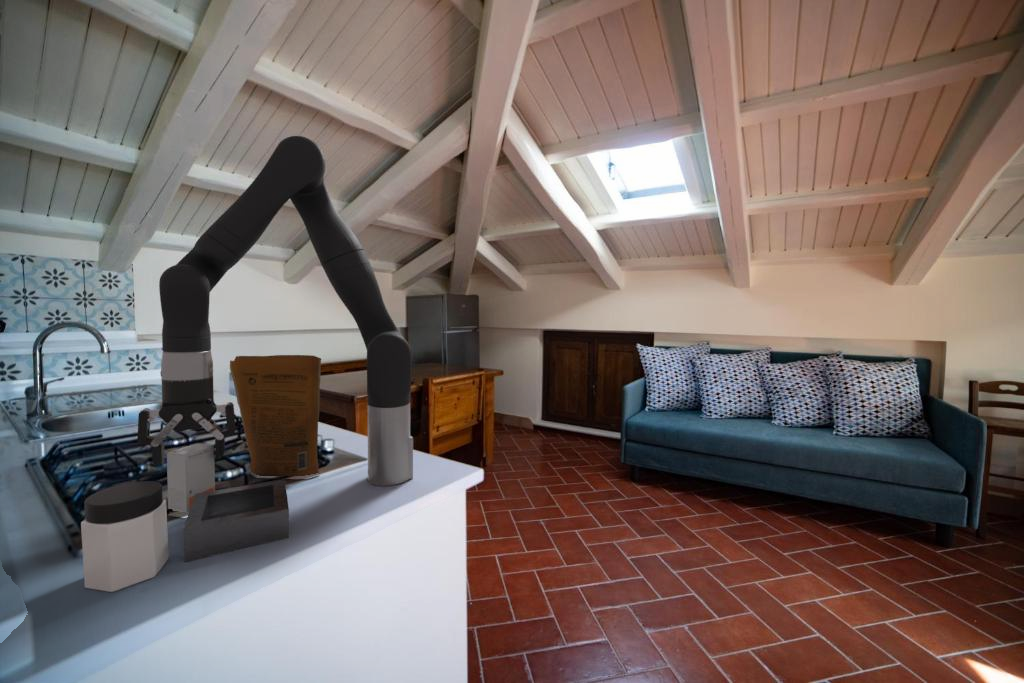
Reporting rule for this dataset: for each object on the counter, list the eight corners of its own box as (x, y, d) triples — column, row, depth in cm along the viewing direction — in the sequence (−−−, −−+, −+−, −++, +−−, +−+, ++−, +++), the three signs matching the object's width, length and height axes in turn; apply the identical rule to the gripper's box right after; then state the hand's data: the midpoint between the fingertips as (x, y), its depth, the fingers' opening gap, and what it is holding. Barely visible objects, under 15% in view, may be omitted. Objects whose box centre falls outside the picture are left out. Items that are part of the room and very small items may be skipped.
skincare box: (187, 519, 75) (184, 454, 74) (167, 517, 76) (164, 452, 75) (217, 504, 81) (215, 444, 80) (198, 502, 82) (196, 442, 81)
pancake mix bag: (315, 484, 91) (313, 356, 89) (230, 481, 92) (226, 354, 90) (330, 472, 98) (328, 353, 96) (251, 469, 99) (247, 351, 97)
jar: (162, 549, 66) (159, 475, 65) (175, 570, 61) (171, 490, 60) (81, 575, 59) (76, 493, 59) (88, 602, 54) (82, 513, 53)
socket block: (285, 503, 82) (284, 478, 82) (289, 537, 70) (288, 508, 70) (196, 520, 75) (195, 493, 75) (184, 562, 63) (182, 530, 63)
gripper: (235, 370, 84) (236, 450, 85) (142, 374, 76) (145, 460, 78) (233, 376, 77) (234, 462, 78) (131, 380, 70) (134, 475, 71)
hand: (190, 461), depth 78 cm, fingers open, 8 cm apart
